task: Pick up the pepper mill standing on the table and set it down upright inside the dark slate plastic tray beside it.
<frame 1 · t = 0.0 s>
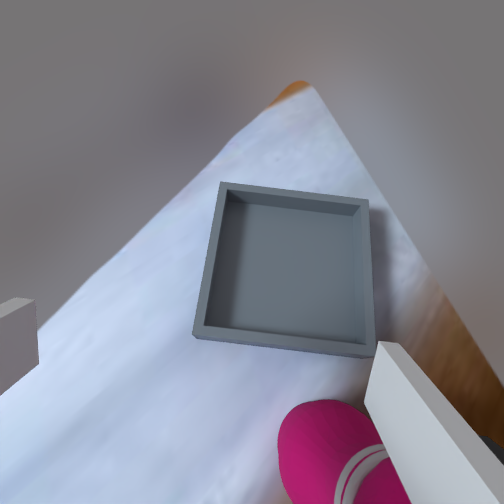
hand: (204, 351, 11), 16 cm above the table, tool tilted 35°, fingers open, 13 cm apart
tray: (284, 270, 29), on the table
pepper mill: (315, 443, 24), on the table, touching gripper
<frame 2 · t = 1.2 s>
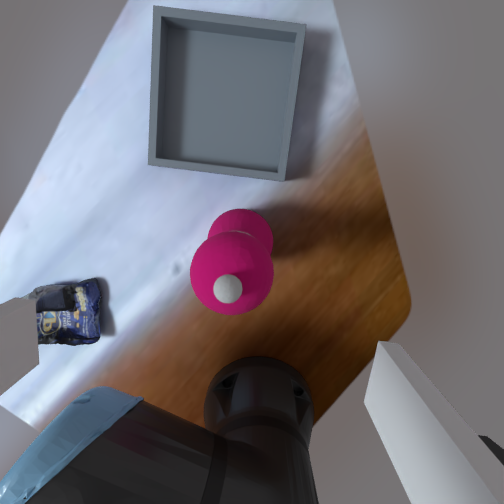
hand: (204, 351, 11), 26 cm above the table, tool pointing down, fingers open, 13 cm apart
snack package: (68, 304, 40), on the table
tray: (225, 105, 33), on the table
pepper mill: (242, 234, 37), on the table
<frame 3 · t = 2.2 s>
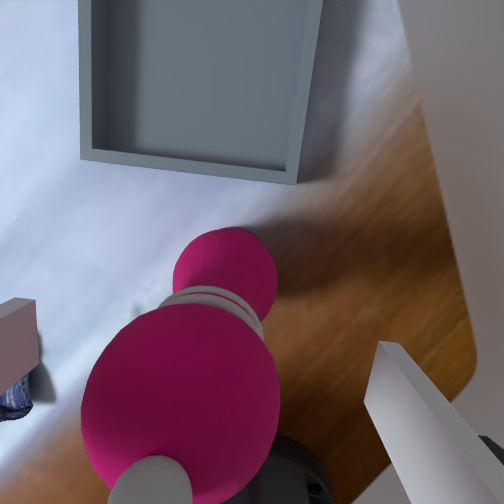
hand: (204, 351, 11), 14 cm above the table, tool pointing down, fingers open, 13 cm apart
tray: (204, 68, 22), on the table
pepper mill: (232, 263, 25), on the table
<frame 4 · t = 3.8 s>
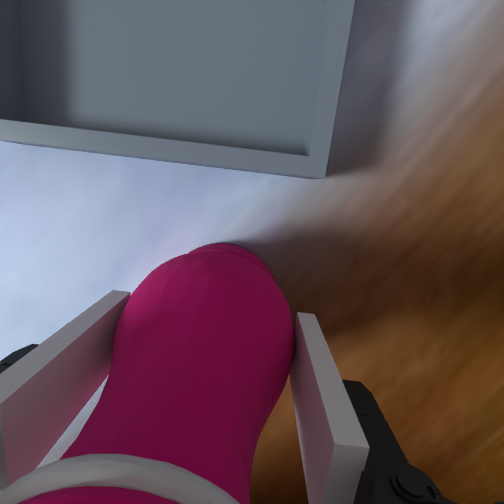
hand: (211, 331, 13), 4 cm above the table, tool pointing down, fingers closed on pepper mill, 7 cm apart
pepper mill: (223, 294, 17), on the table, touching gripper
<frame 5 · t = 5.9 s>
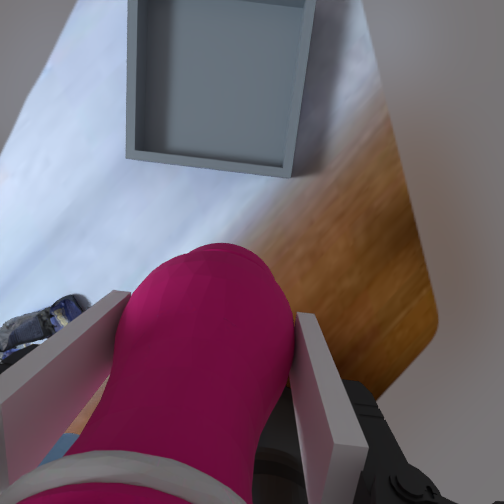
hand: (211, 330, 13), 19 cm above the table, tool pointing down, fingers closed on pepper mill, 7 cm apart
snack package: (53, 333, 35), on the table
tray: (220, 87, 28), on the table
pepper mill: (223, 294, 17), point 15 cm above the table, touching gripper
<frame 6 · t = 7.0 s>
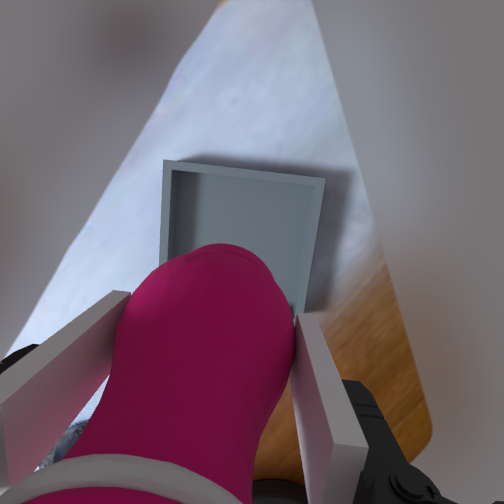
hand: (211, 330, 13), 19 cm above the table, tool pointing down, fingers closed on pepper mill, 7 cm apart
snack package: (88, 439, 39), on the table
tray: (238, 242, 32), on the table
pepper mill: (223, 294, 17), point 15 cm above the table, touching gripper
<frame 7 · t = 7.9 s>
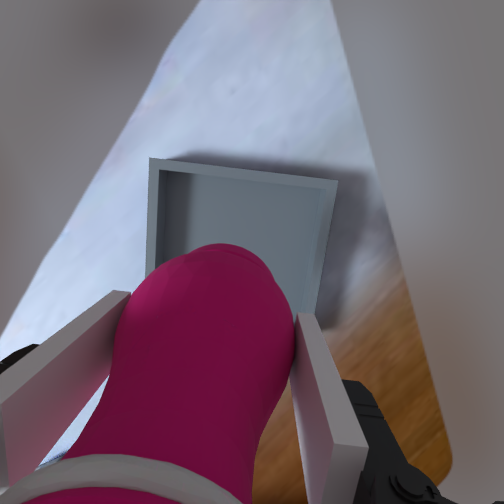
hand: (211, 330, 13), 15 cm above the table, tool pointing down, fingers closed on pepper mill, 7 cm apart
tray: (236, 252, 28), on the table
pepper mill: (223, 294, 17), point 11 cm above the table, touching gripper
when the fingers open (7 cm above the table, at t = 10.1 s): pepper mill drops 2 cm, resting on tray.
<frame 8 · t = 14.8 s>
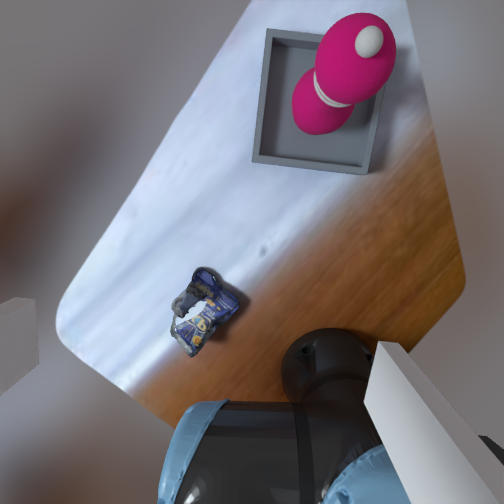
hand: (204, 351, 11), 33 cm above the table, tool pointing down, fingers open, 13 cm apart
snack package: (201, 303, 47), on the table
tray: (314, 110, 39), on the table
pepper mill: (315, 110, 39), point 1 cm above the table, touching tray
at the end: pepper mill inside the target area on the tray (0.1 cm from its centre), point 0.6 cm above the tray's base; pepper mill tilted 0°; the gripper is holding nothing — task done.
